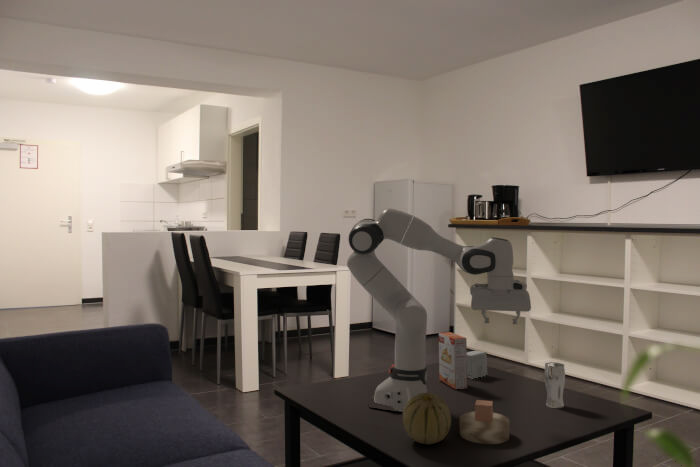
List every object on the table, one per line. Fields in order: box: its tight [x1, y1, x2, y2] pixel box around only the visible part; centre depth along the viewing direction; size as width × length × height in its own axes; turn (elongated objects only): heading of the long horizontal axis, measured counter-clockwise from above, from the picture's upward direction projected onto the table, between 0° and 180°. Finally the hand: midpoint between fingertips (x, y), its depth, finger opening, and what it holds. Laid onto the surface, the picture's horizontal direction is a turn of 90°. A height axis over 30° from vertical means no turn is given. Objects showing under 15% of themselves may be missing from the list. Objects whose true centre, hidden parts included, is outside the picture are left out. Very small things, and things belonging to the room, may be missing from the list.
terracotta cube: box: [474, 399, 494, 422], centre depth 173 cm, size 5×5×5 cm
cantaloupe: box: [402, 392, 452, 445], centre depth 168 cm, size 15×15×15 cm
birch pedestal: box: [459, 410, 510, 445], centre depth 173 cm, size 15×15×5 cm
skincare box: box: [467, 350, 488, 380], centre depth 244 cm, size 10×6×10 cm, turn 128°
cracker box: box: [438, 331, 468, 390], centre depth 230 cm, size 14×6×21 cm, turn 17°
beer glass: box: [544, 361, 566, 409], centre depth 201 cm, size 7×7×15 cm
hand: (500, 323), depth 195 cm, fingers open, 8 cm apart
